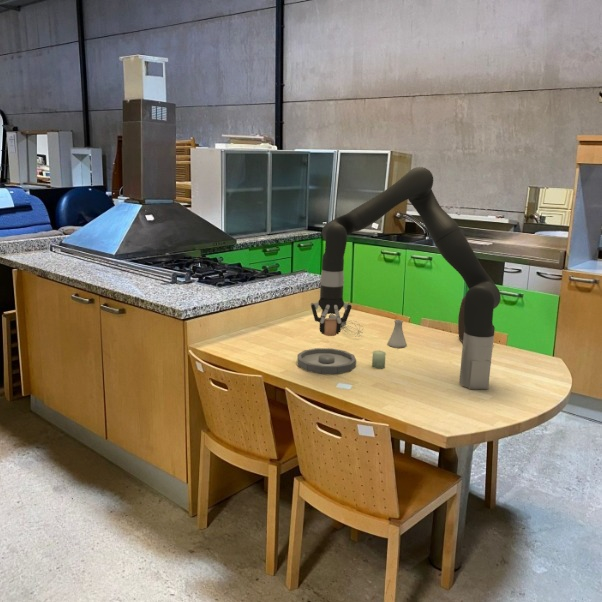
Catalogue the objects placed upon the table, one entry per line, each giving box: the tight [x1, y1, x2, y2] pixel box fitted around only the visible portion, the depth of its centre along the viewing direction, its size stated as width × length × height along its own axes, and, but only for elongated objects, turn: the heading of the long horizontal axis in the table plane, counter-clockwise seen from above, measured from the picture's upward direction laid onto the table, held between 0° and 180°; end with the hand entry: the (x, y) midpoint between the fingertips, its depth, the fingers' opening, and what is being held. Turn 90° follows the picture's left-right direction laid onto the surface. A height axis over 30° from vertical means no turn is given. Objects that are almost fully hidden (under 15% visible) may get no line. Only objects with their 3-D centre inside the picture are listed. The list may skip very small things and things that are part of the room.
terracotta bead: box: [323, 317, 337, 337], centre depth 203 cm, size 4×4×5 cm
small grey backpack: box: [457, 295, 466, 343], centre depth 240 cm, size 15×8×20 cm, turn 5°
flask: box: [387, 319, 408, 349], centre depth 235 cm, size 7×7×10 cm
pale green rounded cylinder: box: [371, 350, 387, 369], centre depth 211 cm, size 4×4×5 cm
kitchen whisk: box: [328, 314, 364, 336], centre depth 257 cm, size 6×34×6 cm, turn 18°
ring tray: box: [296, 347, 357, 375], centre depth 212 cm, size 20×20×2 cm
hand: (329, 333), depth 204 cm, fingers closed on terracotta bead, 4 cm apart
